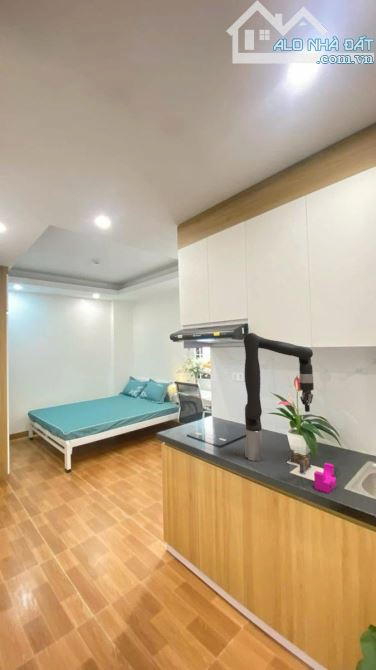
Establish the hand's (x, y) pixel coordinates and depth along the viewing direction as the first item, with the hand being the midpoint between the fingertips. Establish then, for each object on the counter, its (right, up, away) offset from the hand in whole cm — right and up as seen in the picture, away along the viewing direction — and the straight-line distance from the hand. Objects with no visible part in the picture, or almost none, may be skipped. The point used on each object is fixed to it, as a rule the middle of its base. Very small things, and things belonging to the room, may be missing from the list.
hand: (307, 411), depth 159 cm
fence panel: (-6, -28, -11) cm, 31 cm away
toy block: (-2, -29, -26) cm, 39 cm away
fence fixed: (-6, -29, -4) cm, 29 cm away
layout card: (-6, -29, -11) cm, 31 cm away
